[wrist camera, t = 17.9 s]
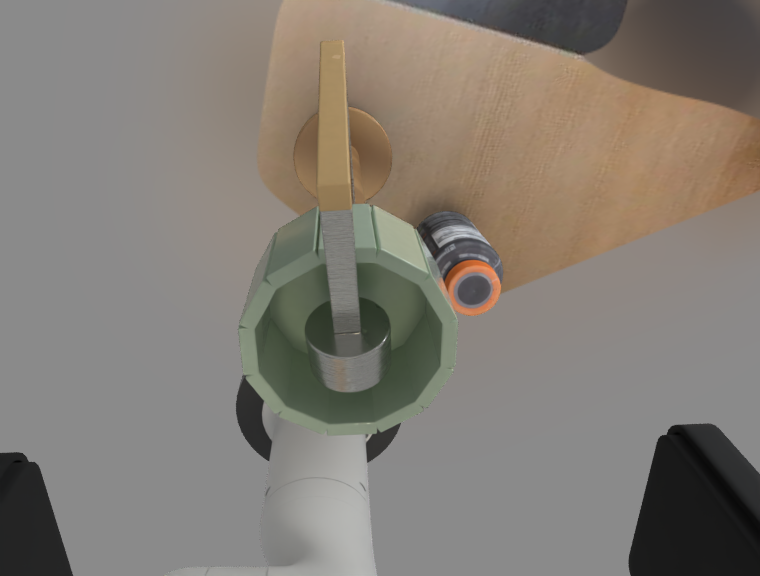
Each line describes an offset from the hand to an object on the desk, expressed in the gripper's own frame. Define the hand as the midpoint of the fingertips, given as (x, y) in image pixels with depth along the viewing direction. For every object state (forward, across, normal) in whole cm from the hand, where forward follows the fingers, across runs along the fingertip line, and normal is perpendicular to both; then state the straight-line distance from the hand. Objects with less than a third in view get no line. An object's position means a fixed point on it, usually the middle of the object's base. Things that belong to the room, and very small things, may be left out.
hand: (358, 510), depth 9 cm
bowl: (+17, 0, +4) cm, 18 cm away
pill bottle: (+43, -9, +12) cm, 46 cm away
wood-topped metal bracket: (+18, 0, +4) cm, 18 cm away
